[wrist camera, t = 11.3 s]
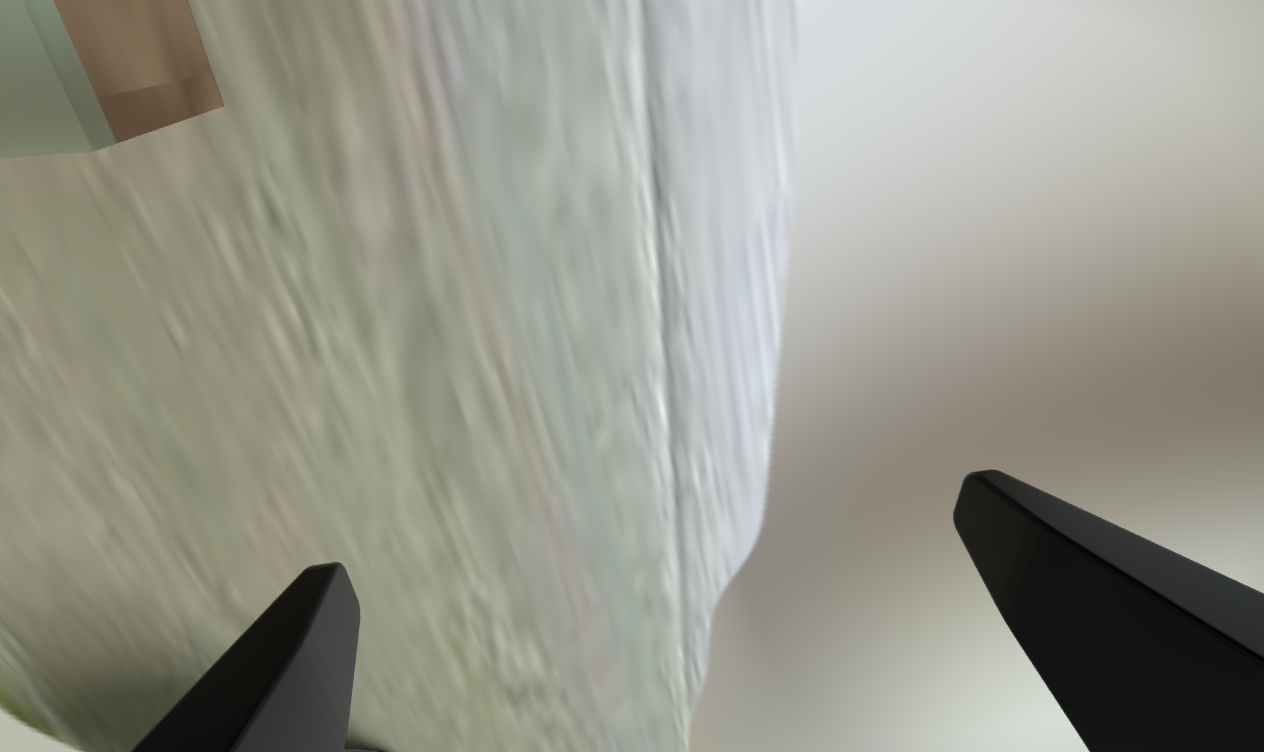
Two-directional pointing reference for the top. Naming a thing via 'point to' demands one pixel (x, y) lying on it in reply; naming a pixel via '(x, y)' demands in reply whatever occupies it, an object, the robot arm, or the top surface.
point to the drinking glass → (358, 750)
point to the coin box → (97, 73)
